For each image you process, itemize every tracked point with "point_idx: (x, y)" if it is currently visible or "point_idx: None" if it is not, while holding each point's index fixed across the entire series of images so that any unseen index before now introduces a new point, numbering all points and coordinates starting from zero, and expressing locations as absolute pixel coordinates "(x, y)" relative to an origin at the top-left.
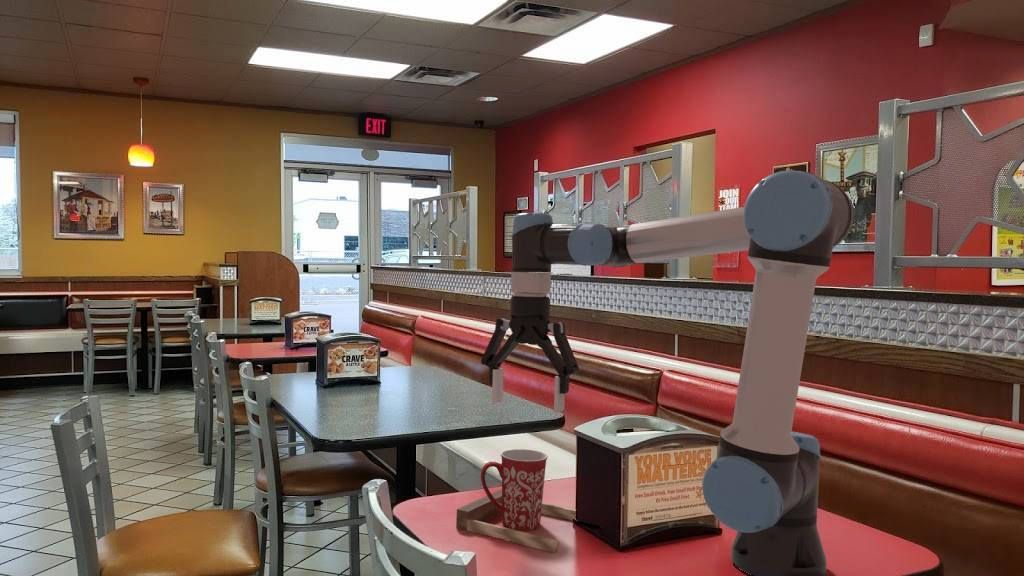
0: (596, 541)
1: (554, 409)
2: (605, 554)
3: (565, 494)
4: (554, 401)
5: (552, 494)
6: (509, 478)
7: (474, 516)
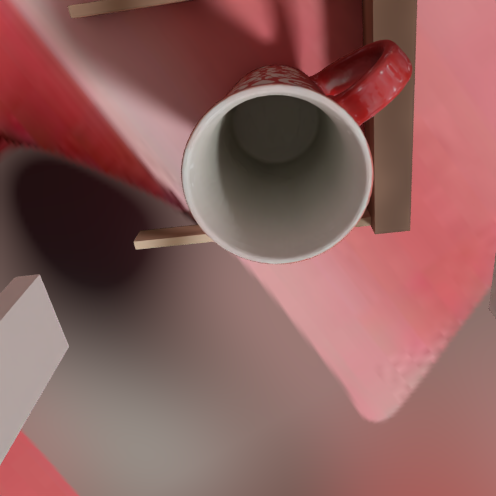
0: (73, 150)
1: (28, 281)
2: (2, 94)
3: (320, 350)
4: (4, 312)
5: (344, 334)
6: (278, 78)
7: (367, 1)
